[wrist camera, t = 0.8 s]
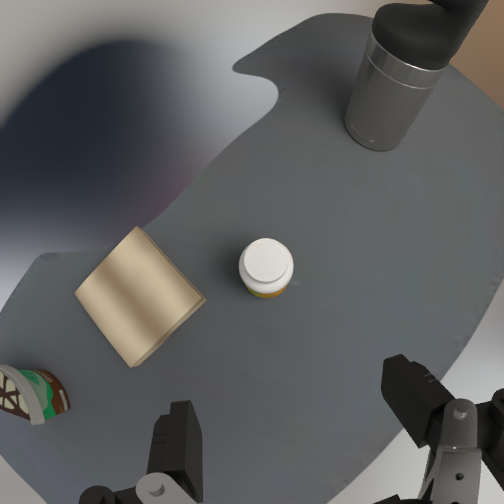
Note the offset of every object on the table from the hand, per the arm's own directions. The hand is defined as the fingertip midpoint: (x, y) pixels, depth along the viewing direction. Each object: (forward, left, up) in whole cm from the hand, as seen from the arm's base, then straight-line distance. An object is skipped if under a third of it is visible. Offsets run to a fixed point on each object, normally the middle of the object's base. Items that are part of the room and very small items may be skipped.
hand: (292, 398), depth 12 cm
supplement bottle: (-5, -7, -25) cm, 26 cm away
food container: (+29, -18, -25) cm, 42 cm away
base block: (+8, -16, -25) cm, 30 cm away
